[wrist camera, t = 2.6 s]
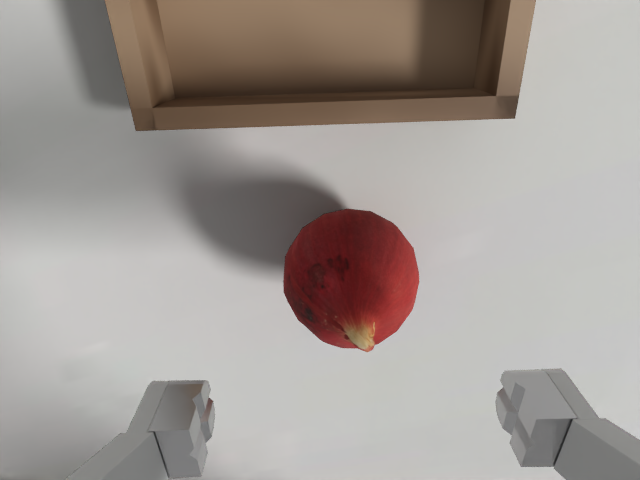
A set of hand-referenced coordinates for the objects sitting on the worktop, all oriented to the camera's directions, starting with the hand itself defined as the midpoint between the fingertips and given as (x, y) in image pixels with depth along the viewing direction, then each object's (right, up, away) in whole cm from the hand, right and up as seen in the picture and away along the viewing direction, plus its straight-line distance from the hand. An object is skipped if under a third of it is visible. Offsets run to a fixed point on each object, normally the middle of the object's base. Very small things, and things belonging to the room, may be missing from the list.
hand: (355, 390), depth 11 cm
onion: (0, +4, +10) cm, 11 cm away
